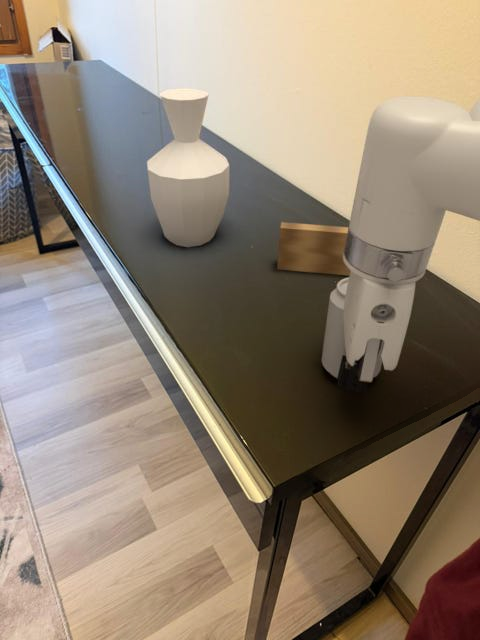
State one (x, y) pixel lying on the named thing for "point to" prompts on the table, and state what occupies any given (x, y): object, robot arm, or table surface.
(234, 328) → the table surface
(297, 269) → the wooden board
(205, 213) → the vase
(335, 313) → the can
